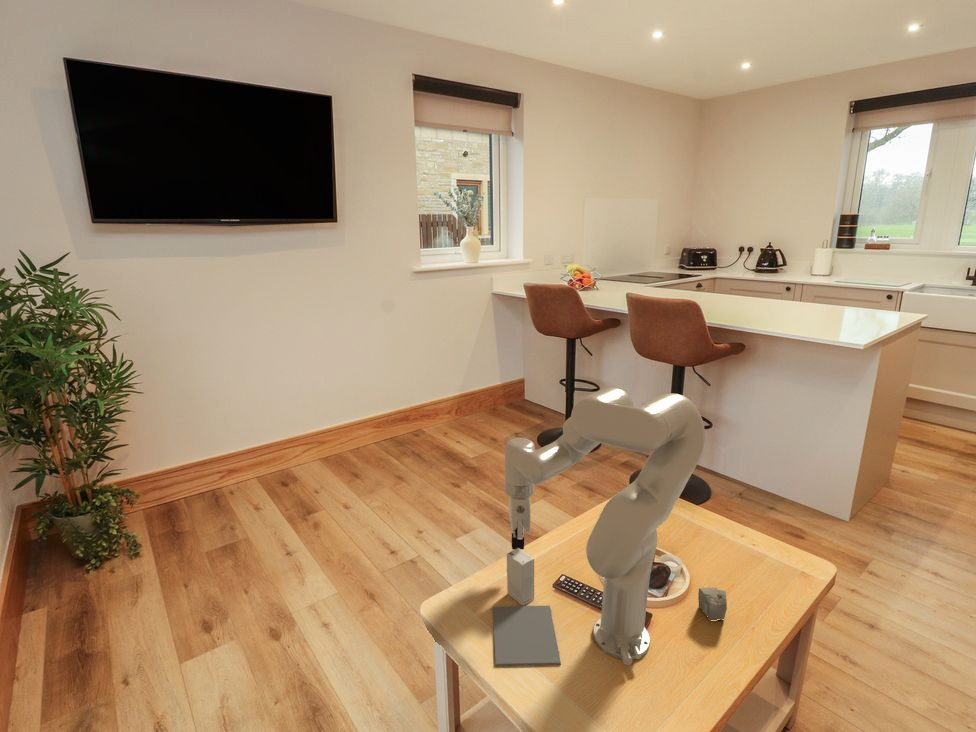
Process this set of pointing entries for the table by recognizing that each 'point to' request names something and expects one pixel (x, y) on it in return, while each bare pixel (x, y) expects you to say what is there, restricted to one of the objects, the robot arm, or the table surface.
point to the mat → (524, 636)
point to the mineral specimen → (713, 602)
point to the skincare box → (520, 576)
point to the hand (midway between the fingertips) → (517, 547)
